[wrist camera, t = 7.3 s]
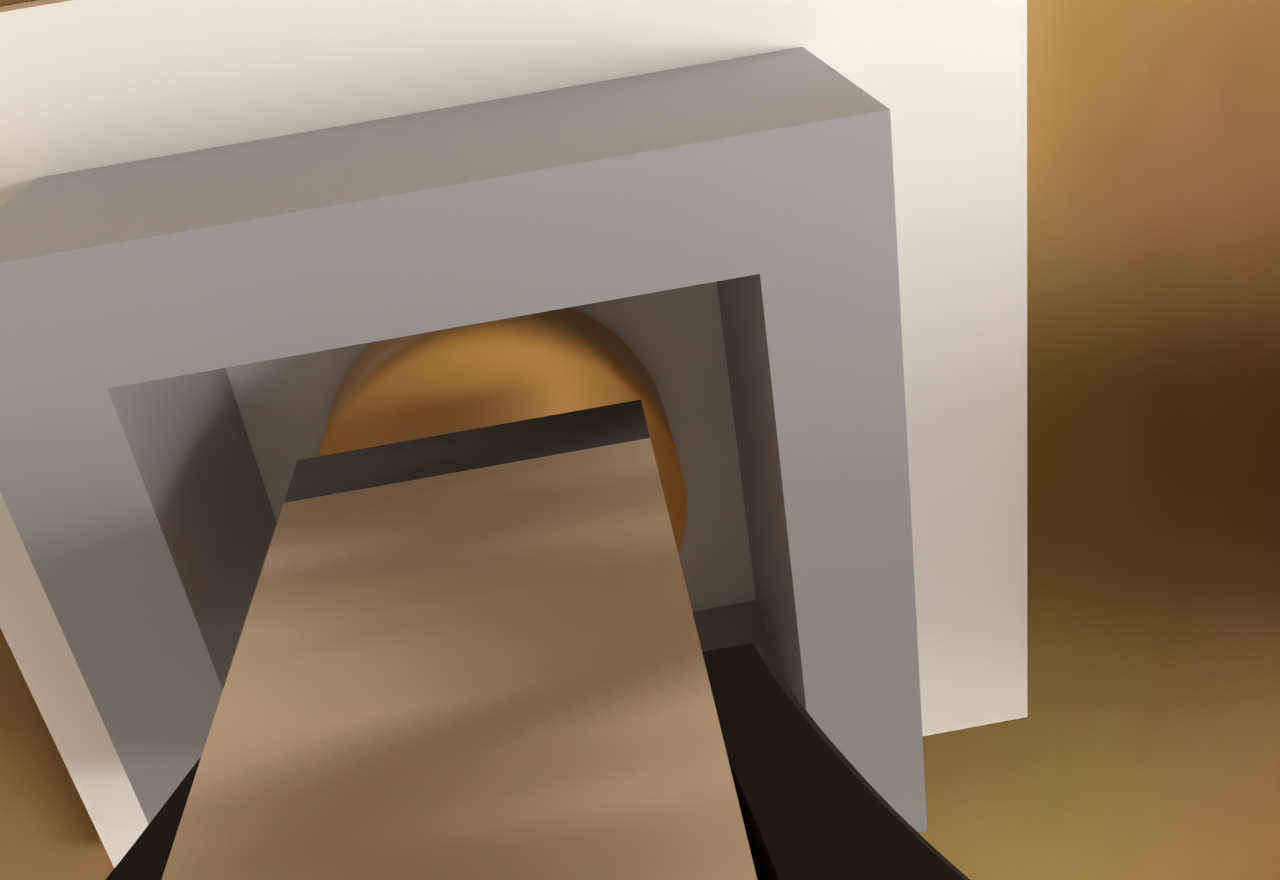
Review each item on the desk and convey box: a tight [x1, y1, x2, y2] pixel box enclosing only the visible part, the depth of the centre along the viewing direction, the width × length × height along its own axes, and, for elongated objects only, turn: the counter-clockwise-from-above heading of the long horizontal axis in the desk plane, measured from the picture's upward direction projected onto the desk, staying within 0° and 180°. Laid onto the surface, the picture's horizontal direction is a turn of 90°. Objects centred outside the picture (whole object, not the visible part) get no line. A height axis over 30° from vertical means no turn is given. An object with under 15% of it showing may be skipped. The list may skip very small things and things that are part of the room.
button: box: [317, 307, 687, 555], centre depth 17 cm, size 5×5×2 cm
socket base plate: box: [0, 0, 1027, 868], centre depth 17 cm, size 16×14×5 cm
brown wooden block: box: [162, 400, 757, 880], centre depth 11 cm, size 4×4×9 cm
